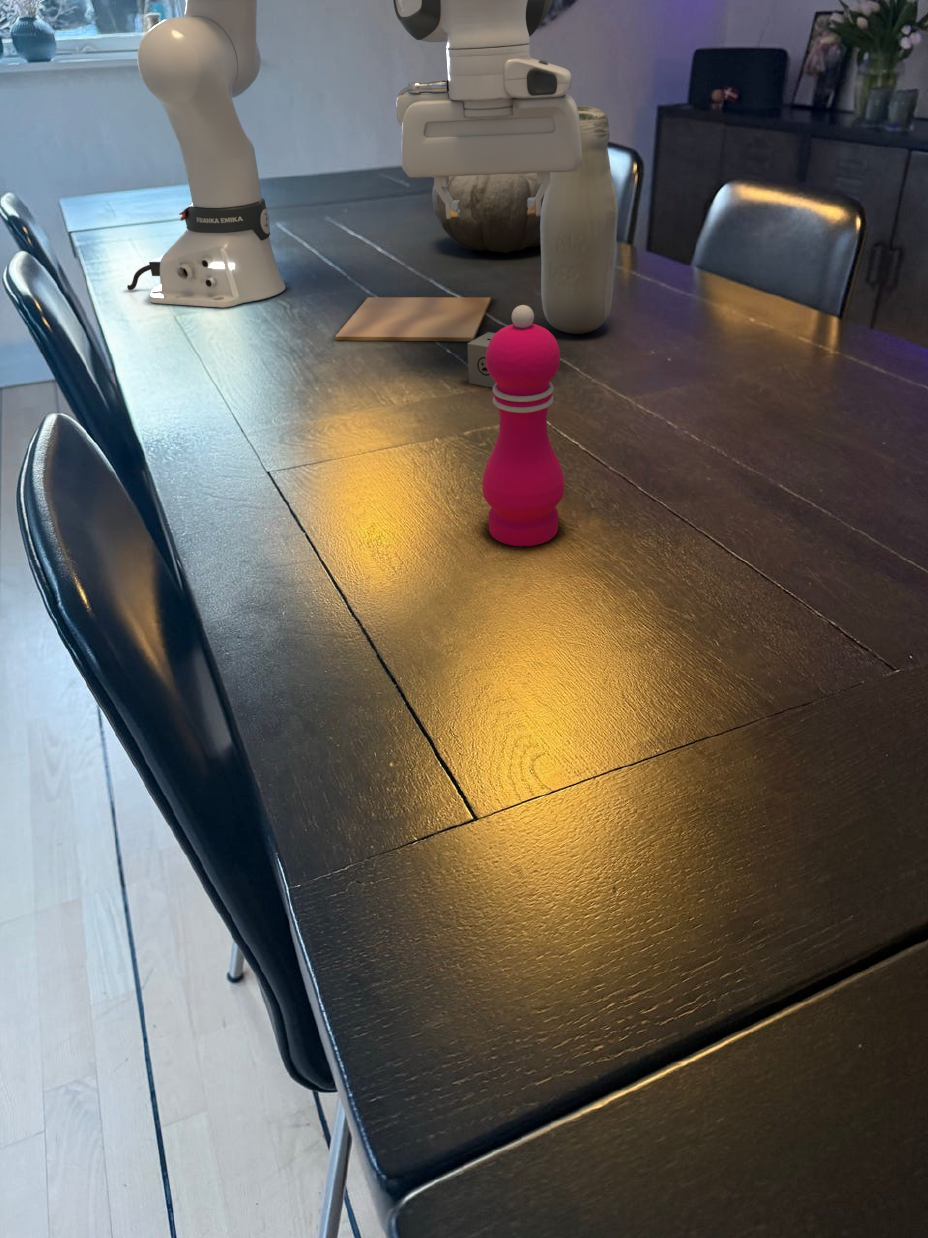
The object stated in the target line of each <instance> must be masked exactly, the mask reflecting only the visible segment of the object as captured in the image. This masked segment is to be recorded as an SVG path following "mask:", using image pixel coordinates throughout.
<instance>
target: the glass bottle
mask: <svg viewBox="0 0 928 1238" xmlns="http://www.w3.org/2000/svg"><path fill="white" fill-rule="evenodd" d="M577 108H578V113H579V119H580V126H581V138H582V162H581V164H580V165H579V167H578V168H577V169H576V170H575V171H573V172H551V180H550V183H549V185H548V187H547V189H546V191H545V194H544V199H543V203H542V209H541V222H540V232H541V245H540V256H541V259H540V262H541V263H540V265H541V268H540V269H541V270H540V273H541V275H540V277H541V278H540V293H541V306H542V310H543V314H544V317H545V319H546V321H547V323H548V324H549V325H550V326H551V327H553V328H554V329H556V330H557V331H560V332H563V333H567V334H573V335H583V334H587V333H592V332H593V331H595V330H597V329H598V328H599V329H600V327H601V326H602V325H603V324H604V322H605V321H607V319H608V317H609V315H610V313H611V309H612V304H613V295H614V280H615V265H616V250H617V238H618V236H617V233H618V216H619V215H618V214H619V212H618V211H619V209H618V207H619V206H618V200H617V199H618V198H617V195H616V194H617V193H616V187H615V184H614V179H613V176H612V170H611V161H610V156H609V148H608V144H609V141H610V126H609V125H610V123H609V117H608V115H607V114H606V112H604V111H603V110H602V109H599V108H597V107H594V106H589V105H583V106H582V105H581V106H580V105H579V106H577Z"/></svg>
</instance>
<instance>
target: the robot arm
mask: <svg viewBox="0 0 928 1238" xmlns="http://www.w3.org/2000/svg"><path fill="white" fill-rule="evenodd" d="M392 1H393V7H394V13H395V15H396V17H397V20H398V21H399V22H400V24H401V25H402V27H403V29H404V30H405V31H406V32H407V33H408V34H409V35H410V36H411V37H412V38H413V39H415V40H416V41H423V42H427V43H445V42H446V47H445V51H446V66H447V68H446V69H447V80H434V81H433V80H432V81H429V82H419V81H414V82H410V83H408V84H407V86H406V87H404V88H403V89H402V88H401V89H402V90H400V91H399V93H398V95H396V101H395V106H396V117H397V121H398V122H397V123H399V125H400V127H401V129H402V130H401V149H400V150H401V168H402V170H403V172H404V173H405V174H406V175H407V176H408V177H409V178H411V179H414V178H415V179H416V178H433V182H434V183H433V185H434V184H435V189H436V191H437V192H438V194H439V195H440V197H441V199H442V200H443V202H444V203H445V206H446V218H447V219H459V218H460V215H461V213H460V209H459V207H460V200H453V199H452V197H451V195H450V194H449V192H448V190H447V188H446V186H447V185H448V184H449V176H470V175H497V174H523V173H537V183H538V184H541V183H542V185H541V187H540V189H539V191H538V193H537V195H536V197H533V198H528V200H527V207H528V211H527V216H528V217H533V216H540V215H541V199H542V197H543V195H544V193H545V191H546V189H547V187H548V185H549V183H550V180H551V172H573V171H575V170H576V169H577V168H578V167H579V165H580V164H581V162H582V138H581V126H580V119H579V113H578V108H577V103H576V101H575V99H574V98H573V97H572V96H571V95H569V94H568V93H569V92H570V91H571V88H572V78H573V77H572V74H571V72H570V70H568V69H567V68H566V67H565V68H564V67H563V66H559V65H556V64H553V63H549V62H548V61H546V60H542V59H536V58H533V57H532V55H531V40H530V39H531V38H530V37H531V36H532V35H533V34H534V33H535V32H536V31H537V30H538V29H539V27H540V26H541V25H542V23H543V22H544V20H545V18H547V15H548V14H549V12H550V9H551V7H552V4H553V1H554V0H392ZM257 8H258V0H185V11H184V15H183V16H179V17H169V18H167V19H163V20H162V21H161V22H159V23H157V24H155V25H154V26H152V27H151V28H150V29H149V30H148V31H146V32H145V34H144V35H143V36H142V38H141V40H140V42H139V45H138V49H137V68H138V70H139V74H140V76H141V80H142V81H143V83H144V85H145V86H146V87H147V89H148V91H149V92H150V93H151V94H152V95H153V96H154V97H155V98H156V99H157V100H158V101H159V103H160V104H161V105H160V106H161V107H162V108H163V110H164V112H165V115H166V117H167V119H168V122H169V124H170V127H171V129H172V131H173V133H174V136H175V138H176V141H177V143H178V146H179V149H180V152H181V157H182V160H183V166H184V170H185V175H186V180H187V184H188V189H189V194H190V198H191V203H190V204H189V205H188V206H187V207H186V208H184V209H183V211H181V212H180V213H179V214H178V215H179V216H181V217H180V221H184V222H185V225H186V229H185V231H184V232H183V233H182V234H181V235H180V236H179V238H178V239H177V240H176V241H175V242H174V243H173V244H172V245H171V247H169V248H168V249H167V251H166V252H165V253H164V254H162V255H160V256H158V257H156V258H154V259H152V260H150V261H149V262H148V264H147V265H143V267H141V268H139V269H138V270H137V271H136V272H134V275H133V278H132V282H131V283H130V284H127V286H126V289H127V290H128V291H133V290H135V289H136V287H137V285H138V282H139V279H140V277H141V276H142V275H143V274H145V273H146V272H148V271H150V273H151V276H152V277H159V280H160V281H159V282H160V284H159V285H157V286H155V287H154V288H153V289H152V290H151V291H150V293H149V300H150V302H151V303H152V304H165V305H178V306H179V305H180V306H181V305H182V306H195V307H208V308H209V307H210V308H231V307H234V306H238V305H240V304H245V303H250V302H255V301H256V302H257V301H260V300H261V301H262V300H265V299H269V298H272V297H274V296H277V295H279V294H281V293H282V292H284V291H285V290H286V284H285V282H284V279H283V277H282V275H281V272H280V270H279V267H278V265H277V261H276V258H275V255H274V250H273V247H272V243H271V242H272V241H271V239H270V236H271V225H270V217H269V213H268V212H269V211H268V210H267V205H266V199H265V198H264V197H263V196H262V189H261V183H260V177H259V171H258V164H257V156H256V152H255V151H256V150H255V147H254V144H253V142H252V140H251V139H250V137H248V135H247V133H246V132H245V130H244V127H243V126H242V124H241V121H240V119H239V116H238V113H237V110H236V107H235V105H234V101H233V98H237V97H239V96H240V95H242V94H244V92H246V91H247V90H248V89H249V88H250V87H251V85H252V84H254V82H255V81H256V79H257V77H259V76H258V75H259V73H260V69H261V51H260V47H259V45H258V42H257ZM406 93H408V94H406Z"/></svg>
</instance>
